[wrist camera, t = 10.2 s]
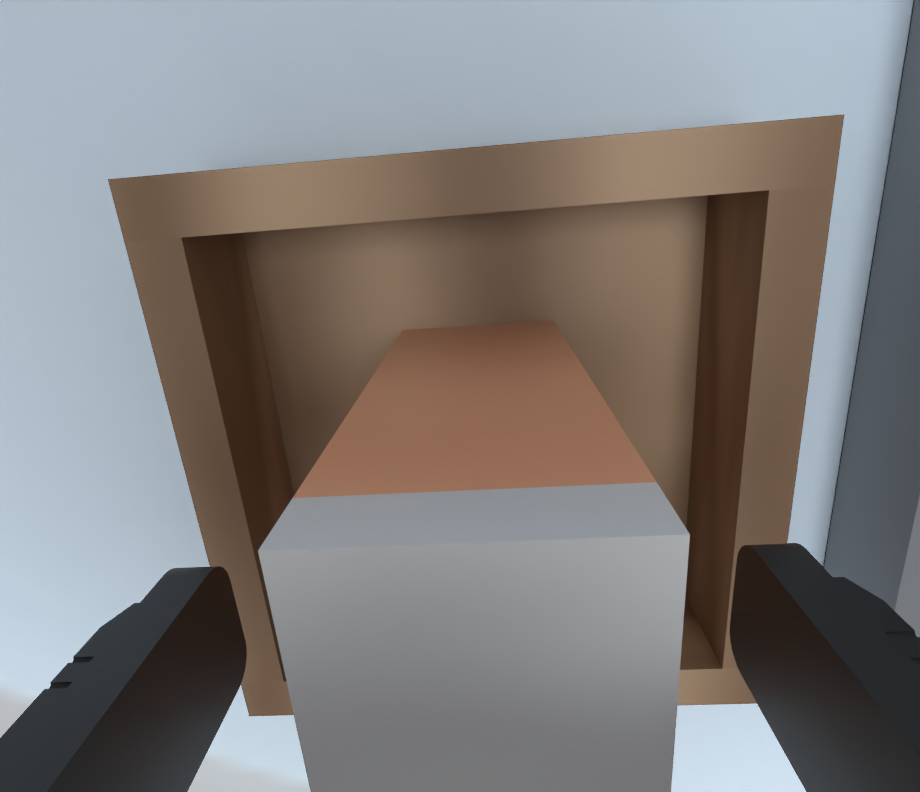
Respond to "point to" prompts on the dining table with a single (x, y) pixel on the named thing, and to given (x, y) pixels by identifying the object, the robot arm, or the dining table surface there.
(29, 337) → the dining table surface
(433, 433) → the block
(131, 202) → the tray
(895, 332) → the frame
